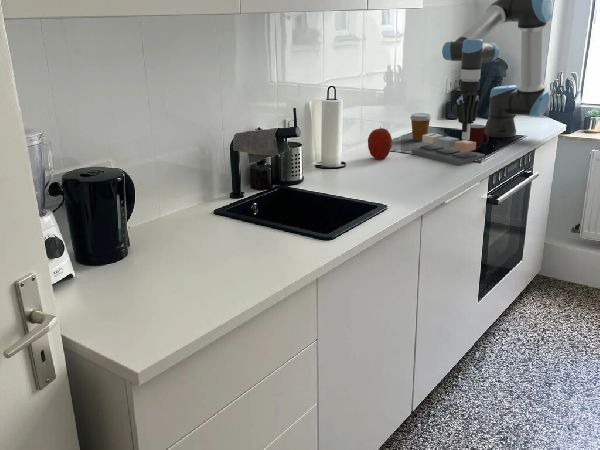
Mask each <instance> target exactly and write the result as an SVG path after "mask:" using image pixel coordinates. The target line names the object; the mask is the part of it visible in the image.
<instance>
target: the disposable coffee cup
mask: <svg viewBox="0 0 600 450" xmlns="http://www.w3.org/2000/svg"><path fill="white" fill-rule="evenodd" d="M431 119H432V117H431V114H430V113H423V112H417V113H416V112H415V113H411V115H410V120H411V131H412V132H411V133H412V141H414V142H422V136H423V135H425V134H429V127H430V121H431Z"/></svg>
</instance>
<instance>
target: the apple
mask: <svg viewBox="0 0 600 450" xmlns="http://www.w3.org/2000/svg"><path fill="white" fill-rule="evenodd" d="M392 141H393V138H392V136H391V133H390V132H389V130H388V129H385V128H384V127H383V128H382V127H381V126H379V128H376V129H373V130H372V131H371V132H370V133H369V135H368V138H367V148H368V152H369V153H370V156H371V157H372V158H374V159H376V160H385V159H386V158H387V157H388V156H389V154H390V151H391V149H392V143H393V142H392Z"/></svg>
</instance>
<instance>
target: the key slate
mask: <svg viewBox="0 0 600 450" xmlns="http://www.w3.org/2000/svg"><path fill="white" fill-rule="evenodd" d="M457 141H460V138H457V137H453V136H443V138H438V143H437V144H438V146H442V147H447V148H451V147H454V145H455V142H457Z"/></svg>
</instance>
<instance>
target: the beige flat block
mask: <svg viewBox="0 0 600 450" xmlns="http://www.w3.org/2000/svg"><path fill="white" fill-rule="evenodd" d="M454 149H455V150H460V151H464V152H467V151H472V152H473V151H476V150H477V149H476V142H472V141H467V140H463V139H461V140H459V141H457V142H455V145H454Z"/></svg>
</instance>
